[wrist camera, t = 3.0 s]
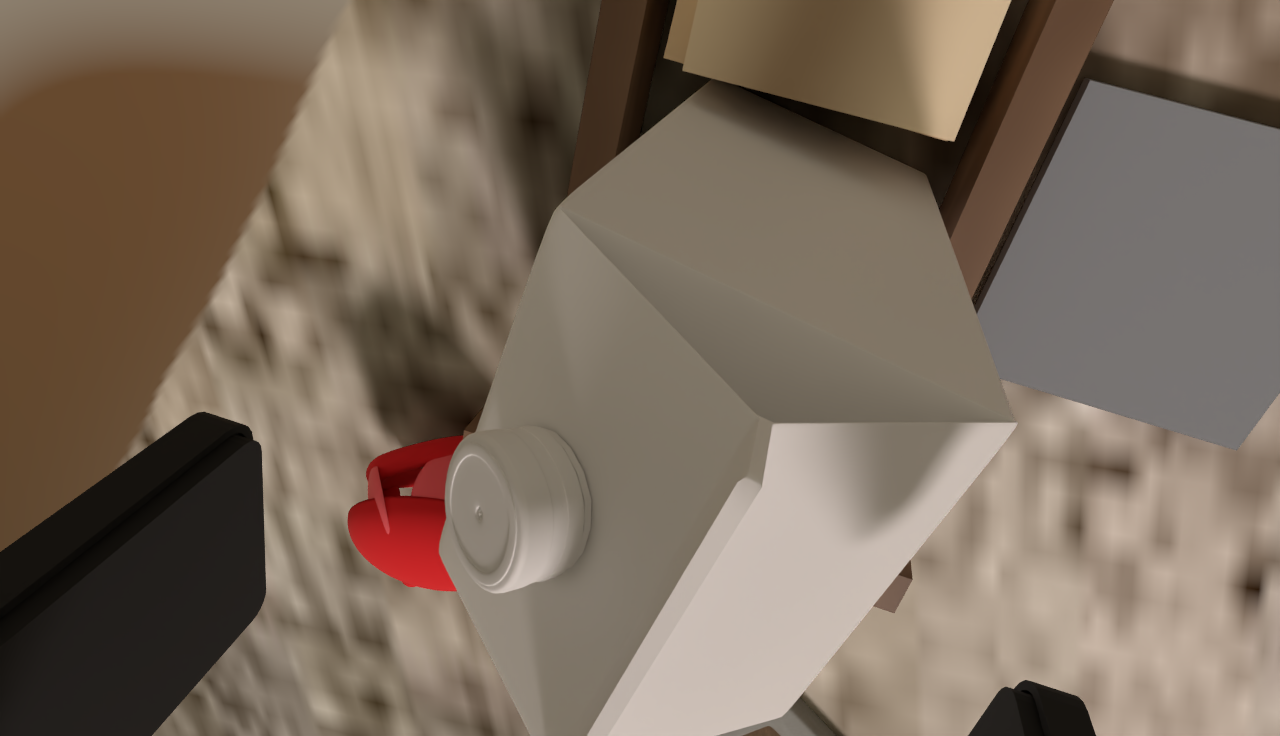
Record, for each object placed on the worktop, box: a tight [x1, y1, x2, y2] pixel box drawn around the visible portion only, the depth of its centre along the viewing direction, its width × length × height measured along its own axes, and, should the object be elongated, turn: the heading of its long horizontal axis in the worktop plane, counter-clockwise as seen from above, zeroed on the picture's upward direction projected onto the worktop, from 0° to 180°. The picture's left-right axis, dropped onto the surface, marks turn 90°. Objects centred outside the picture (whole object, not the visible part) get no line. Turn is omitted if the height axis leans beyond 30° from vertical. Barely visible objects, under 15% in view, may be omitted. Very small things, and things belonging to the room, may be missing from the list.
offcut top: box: [682, 0, 1011, 141], centre depth 18 cm, size 6×4×2 cm, turn 78°
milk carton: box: [439, 79, 1017, 736], centre depth 17 cm, size 7×7×19 cm
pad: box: [974, 78, 1280, 450], centre depth 23 cm, size 9×9×1 cm
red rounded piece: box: [348, 435, 463, 591], centre depth 31 cm, size 8×6×6 cm
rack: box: [463, 0, 1114, 613], centre depth 21 cm, size 12×15×9 cm
